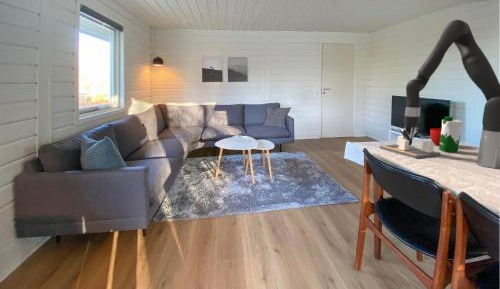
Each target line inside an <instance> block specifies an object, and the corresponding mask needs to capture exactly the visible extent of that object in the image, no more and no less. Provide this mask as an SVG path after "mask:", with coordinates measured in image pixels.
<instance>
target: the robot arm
mask: <svg viewBox="0 0 500 289" xmlns="http://www.w3.org/2000/svg"><path fill="white" fill-rule="evenodd" d="M453 44H454V45H455V46H456V47H457V49H458V51H459V53H460V57H461V62H462V65H463V68H464V70H465V72H466V74H467V76H468V77H469V79H470V80H471V81H472V82H473V83H474V84H475V85H476V87H477V88H478V89H480V91H481V92H482V94H483V96H484V97H485V100H486V102H485V104H484V108H483V114H482V120H481V122H482V123H481V124H482V130H481V136H480V142H479V147H478V148H479V149H478V153H477V160H476V164H477V166H481V167H485V168H486V167H487V168H492V169H498V168H499V169H500V81H499V79H498V77H497V74H496V73H495V70H494V69H493V66H492V65H491V63H490V62H489V59H488V57H487V56H486V55H485V53H484V52H483V51H482V49H481V48H480V46H479V45H478V43H477V42H476V39H475V37H474V35H473V33H472V29H471V28H470V25H469V24H468V23H467V22H466V21H464V20H462V19H455V20H451V21H450V22H448V23H447V24H446V26H445V27H444V29H443V31H442V33H441V35H440V37H439V39H438V40H437V42H436V44H435V45H434V47H433V49H432V51H431V52H430V54H429V55H428V56H427V58H426V59H425V60H424V62H423V63H422V65H421V66H420V67H419V69H418V71H417V75H416V77H415V78H414V79H411V80H409V81H408V82H407V84H406V88H405V91H406V92H405V93H406V94H405V95H406V105H405V106H406V107H405V111H404V119H403V123H404V127H403V128H401V129H400V133H401V134H402V135H401V136H404V137H405V138H407V140H409V145H410V146H412V144H413V139H414V138H417V136H418V135H419V133H420V131H421V128H419V126H418V124H420V116H421V105H422V104H421V103H422V98H421V97H420V92H422V90H424V89H425V87H426V86H427V84H428V82H429V81H430V79H431V77H433V76H432V75H433V74H434V73H435V72H436V70H437V69H438V68H439V66H440V65H441V63H442V61H443V59H444V56H445V54H446V53H447V51H448V50H449V49H450V47H451V46H452V45H453Z"/></svg>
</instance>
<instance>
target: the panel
mask: <svg viewBox="0 0 500 289" xmlns="http://www.w3.org/2000/svg"><path fill="white" fill-rule="evenodd" d="M396 144H397V143H395V144H386V145H379V149H380V148H382V149H381V150H384V151H387V152H390V153H391V152H392V153H395V154H399V155H401V156H405V157H409V158H412V159H416V160H417V159H423V158H432V157H440V156H441V154H442V153H441V152H439V151H434V150H433V151H434V152H431V153H428V152H424V151H422V150H423V147H419V146H414V145H409V147H408V149H409V150H401V149H398V148H399V145H396Z"/></svg>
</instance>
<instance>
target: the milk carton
mask: <svg viewBox="0 0 500 289" xmlns="http://www.w3.org/2000/svg"><path fill="white" fill-rule="evenodd" d="M463 124H464V121H462V120H457V119H454V117H453V116H444V119H442V120H441V128H442V130H441V138H440V145H439V146H438V151H439V150H440V151H441V152H443V153H454V154H455V153H457V154H458V152H459V147H460V142H461V133H462V129H463V128H462V127H463Z"/></svg>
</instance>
